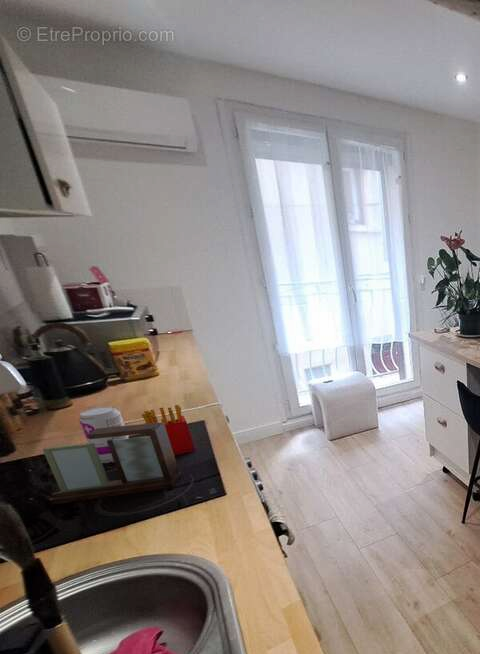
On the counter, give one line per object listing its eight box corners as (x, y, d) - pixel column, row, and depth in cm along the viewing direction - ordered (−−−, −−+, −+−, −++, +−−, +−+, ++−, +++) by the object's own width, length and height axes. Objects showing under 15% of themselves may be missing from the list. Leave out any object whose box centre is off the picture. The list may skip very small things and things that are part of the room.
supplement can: (101, 467, 116) (82, 418, 111) (92, 459, 120) (73, 412, 115) (138, 455, 123) (122, 409, 117) (128, 448, 127) (112, 403, 121)
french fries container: (153, 453, 124) (139, 410, 119) (191, 444, 130) (179, 403, 126) (156, 461, 120) (141, 417, 115) (195, 451, 126) (183, 409, 121)
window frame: (51, 505, 99) (22, 443, 93) (67, 492, 104) (41, 432, 98) (172, 487, 107) (153, 429, 101) (181, 476, 113) (164, 420, 107)
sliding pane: (61, 493, 101) (42, 449, 96) (64, 491, 101) (44, 447, 97) (108, 487, 104) (91, 444, 100) (110, 485, 105) (93, 442, 100)
